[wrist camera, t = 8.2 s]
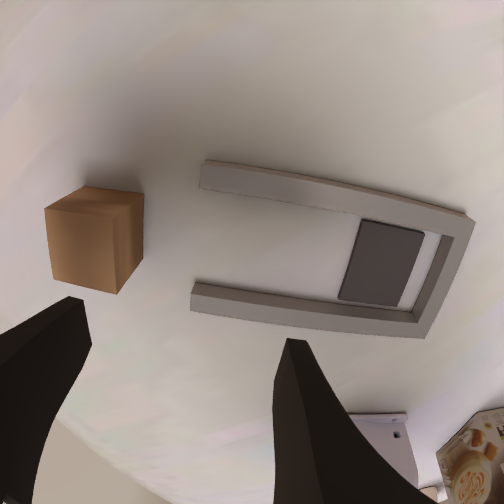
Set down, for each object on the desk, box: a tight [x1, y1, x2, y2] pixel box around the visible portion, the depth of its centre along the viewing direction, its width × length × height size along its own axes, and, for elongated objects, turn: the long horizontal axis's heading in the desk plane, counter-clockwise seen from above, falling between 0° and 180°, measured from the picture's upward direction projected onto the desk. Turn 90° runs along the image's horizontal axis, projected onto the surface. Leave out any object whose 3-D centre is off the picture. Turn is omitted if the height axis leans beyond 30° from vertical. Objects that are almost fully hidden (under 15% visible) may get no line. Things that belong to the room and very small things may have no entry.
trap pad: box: [338, 219, 425, 307], centre depth 17 cm, size 4×5×1 cm
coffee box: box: [436, 408, 504, 504], centre depth 19 cm, size 9×6×16 cm
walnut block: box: [44, 187, 144, 295], centre depth 15 cm, size 4×4×4 cm
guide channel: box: [190, 160, 476, 339], centre depth 17 cm, size 15×8×1 cm, turn 81°
